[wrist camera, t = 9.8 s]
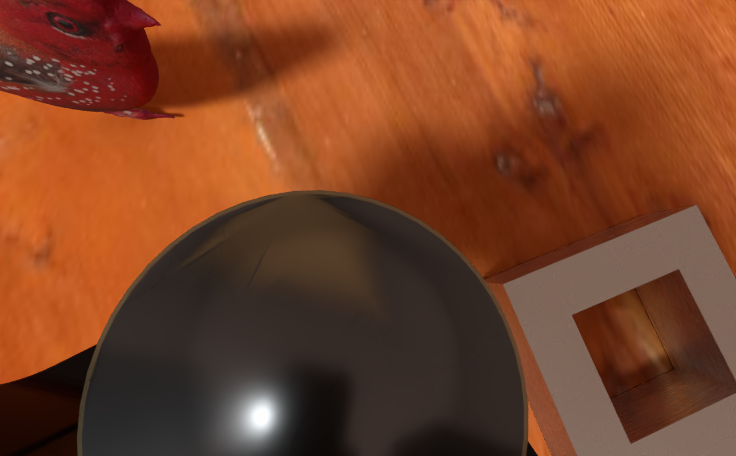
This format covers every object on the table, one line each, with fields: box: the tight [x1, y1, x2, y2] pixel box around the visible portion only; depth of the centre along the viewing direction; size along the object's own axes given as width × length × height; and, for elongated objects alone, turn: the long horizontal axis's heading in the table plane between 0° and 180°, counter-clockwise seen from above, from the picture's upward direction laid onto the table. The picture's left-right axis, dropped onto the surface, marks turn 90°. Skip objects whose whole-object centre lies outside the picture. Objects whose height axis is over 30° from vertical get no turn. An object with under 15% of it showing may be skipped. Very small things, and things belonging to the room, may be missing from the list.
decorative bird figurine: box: [0, 0, 175, 120], centre depth 13 cm, size 3×18×10 cm, turn 85°
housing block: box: [484, 205, 736, 456], centre depth 15 cm, size 12×18×3 cm, turn 21°
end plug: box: [77, 190, 528, 456], centre depth 10 cm, size 5×5×13 cm
